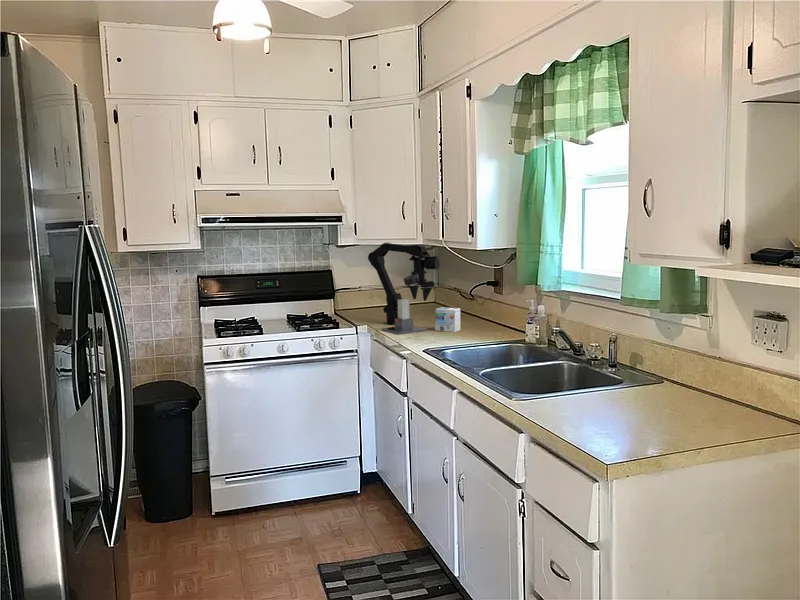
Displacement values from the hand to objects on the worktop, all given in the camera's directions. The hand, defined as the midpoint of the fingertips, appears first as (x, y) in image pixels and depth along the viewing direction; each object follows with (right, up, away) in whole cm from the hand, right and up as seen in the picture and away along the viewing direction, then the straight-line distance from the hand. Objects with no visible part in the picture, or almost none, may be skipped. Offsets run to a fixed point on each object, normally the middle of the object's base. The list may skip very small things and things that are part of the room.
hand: (419, 300), depth 341 cm
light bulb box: (+13, -15, -15) cm, 25 cm away
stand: (-8, -15, -13) cm, 21 cm away
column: (-8, -10, -14) cm, 19 cm away
